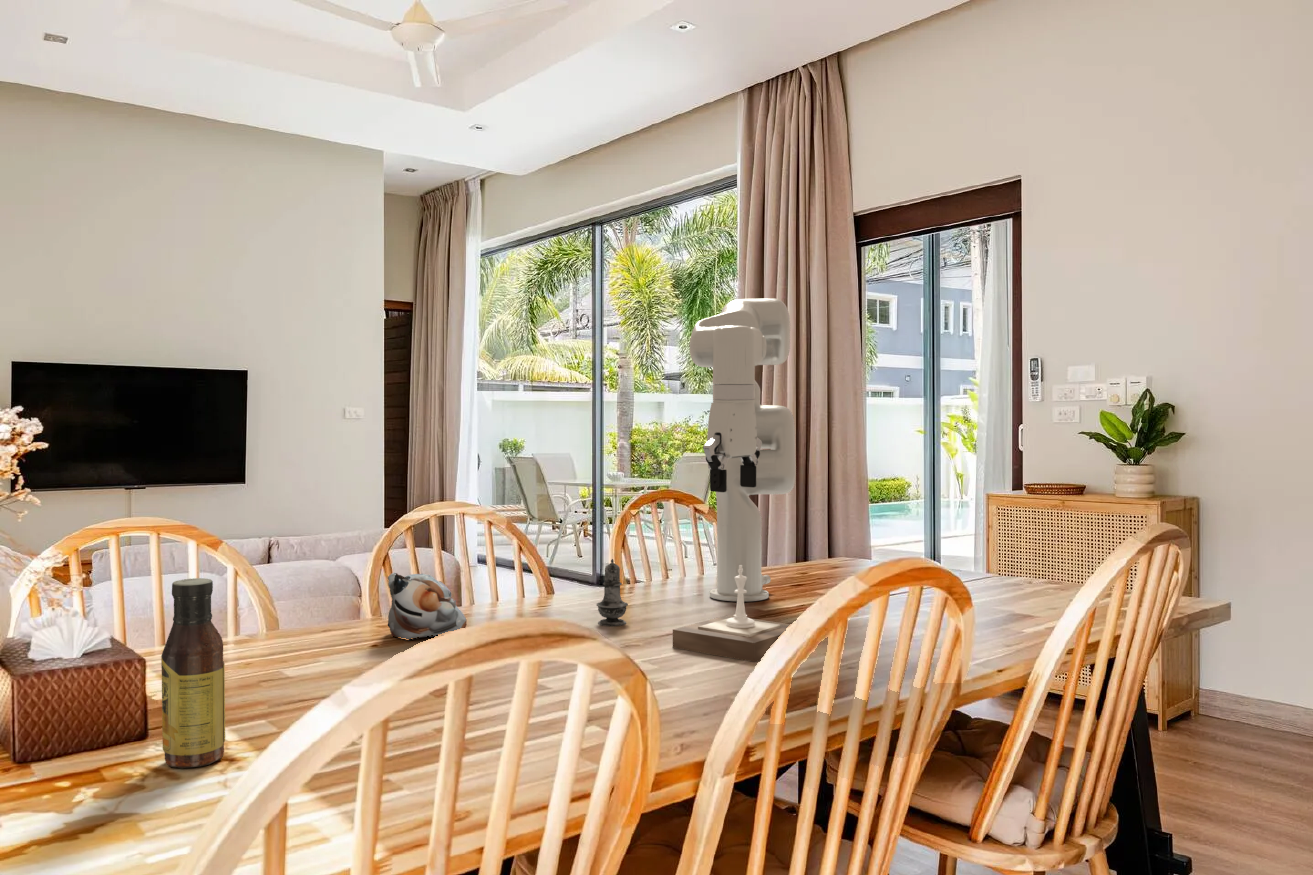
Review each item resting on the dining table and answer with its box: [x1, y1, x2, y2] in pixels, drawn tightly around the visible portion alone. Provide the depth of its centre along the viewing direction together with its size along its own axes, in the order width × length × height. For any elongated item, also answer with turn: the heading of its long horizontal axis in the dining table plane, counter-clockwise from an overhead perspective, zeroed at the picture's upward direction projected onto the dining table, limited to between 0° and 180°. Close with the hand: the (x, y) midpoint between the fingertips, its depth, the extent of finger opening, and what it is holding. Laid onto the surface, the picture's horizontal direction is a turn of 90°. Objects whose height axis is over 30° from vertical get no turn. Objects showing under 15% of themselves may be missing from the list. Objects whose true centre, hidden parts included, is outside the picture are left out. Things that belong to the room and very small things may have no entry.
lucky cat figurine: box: [387, 572, 467, 639], centre depth 172 cm, size 15×12×14 cm
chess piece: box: [726, 565, 755, 628], centre depth 166 cm, size 5×5×10 cm
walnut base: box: [672, 614, 791, 663], centre depth 166 cm, size 16×16×3 cm
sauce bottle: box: [160, 577, 226, 769], centre depth 109 cm, size 6×6×20 cm
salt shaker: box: [595, 558, 629, 627], centre depth 185 cm, size 6×6×12 cm
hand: (733, 489), depth 180 cm, fingers open, 9 cm apart
